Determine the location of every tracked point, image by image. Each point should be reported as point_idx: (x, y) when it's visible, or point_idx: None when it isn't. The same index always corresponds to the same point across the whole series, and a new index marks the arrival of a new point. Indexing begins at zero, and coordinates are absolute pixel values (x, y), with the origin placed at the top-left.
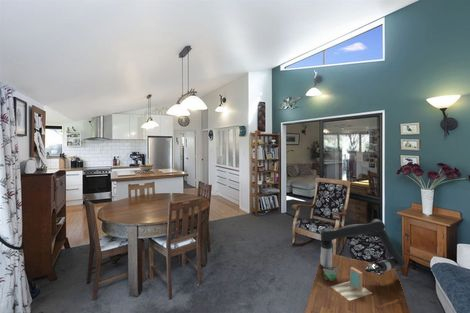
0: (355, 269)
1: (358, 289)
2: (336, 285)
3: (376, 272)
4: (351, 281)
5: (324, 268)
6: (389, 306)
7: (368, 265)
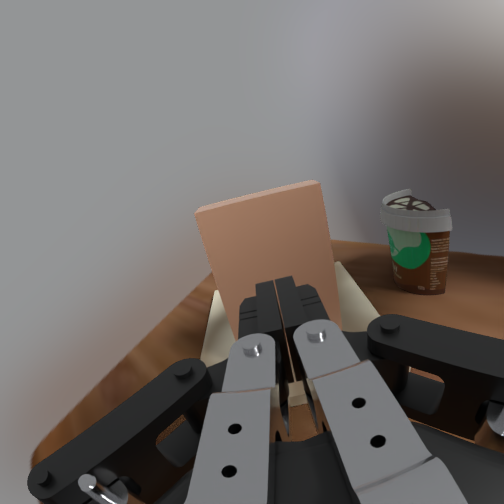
0: (268, 192)
1: None
2: (344, 277)
3: (171, 433)
4: None
5: (404, 190)
6: (79, 416)
7: (435, 334)
